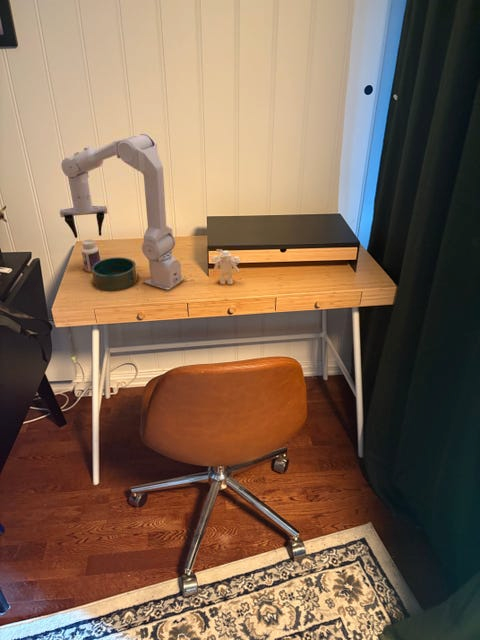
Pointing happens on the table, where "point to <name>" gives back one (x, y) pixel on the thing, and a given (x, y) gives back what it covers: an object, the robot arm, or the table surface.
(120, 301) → the table surface
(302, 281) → the table surface
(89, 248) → the pill bottle
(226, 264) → the blocky character figurine
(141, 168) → the robot arm
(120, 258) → the pot
